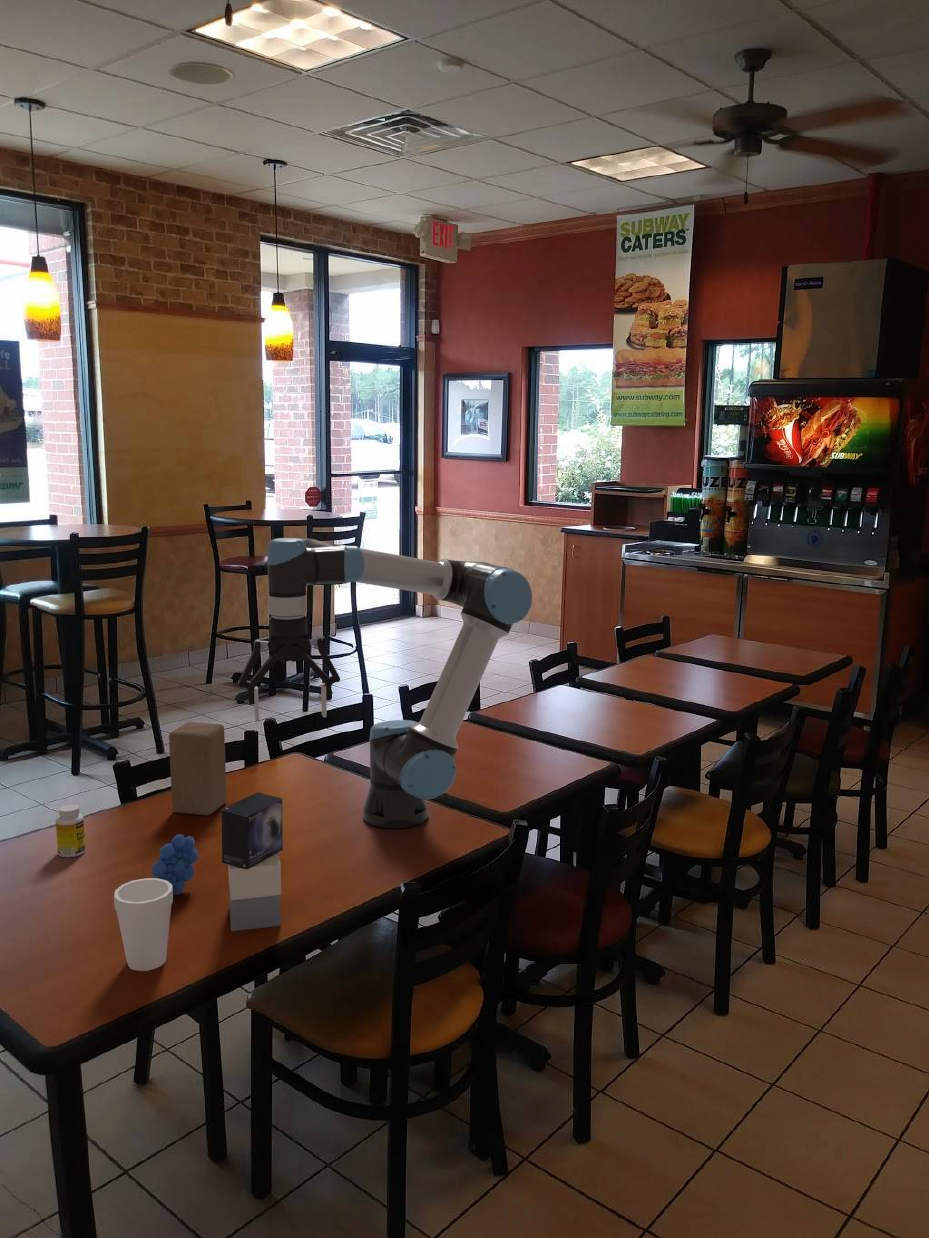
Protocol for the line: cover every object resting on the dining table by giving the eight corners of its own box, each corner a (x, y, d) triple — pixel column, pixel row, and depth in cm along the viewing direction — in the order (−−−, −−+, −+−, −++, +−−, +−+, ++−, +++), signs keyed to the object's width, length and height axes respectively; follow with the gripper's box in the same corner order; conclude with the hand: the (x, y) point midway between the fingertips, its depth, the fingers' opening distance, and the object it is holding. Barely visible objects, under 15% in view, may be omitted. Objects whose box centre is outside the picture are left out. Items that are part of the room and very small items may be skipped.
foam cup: (181, 947, 174) (178, 878, 171) (168, 975, 165) (164, 903, 162) (127, 947, 174) (123, 878, 171) (110, 975, 164) (106, 903, 162)
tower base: (277, 903, 190) (276, 874, 189) (281, 926, 182) (280, 895, 181) (229, 908, 188) (228, 879, 187) (230, 931, 180) (229, 901, 179)
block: (210, 817, 232) (206, 735, 228) (170, 813, 234) (167, 732, 230) (228, 802, 241) (225, 723, 238) (190, 798, 243) (187, 720, 240)
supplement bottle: (80, 858, 209) (77, 812, 207) (53, 858, 209) (50, 812, 207) (89, 847, 214) (86, 802, 213) (63, 847, 214) (60, 802, 212)
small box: (248, 871, 177) (246, 816, 175) (220, 863, 180) (218, 809, 178) (285, 849, 186) (284, 797, 184) (258, 842, 189) (256, 790, 187)
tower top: (276, 873, 190) (276, 844, 189) (281, 894, 181) (280, 864, 180) (228, 878, 187) (227, 849, 186) (230, 900, 179) (229, 869, 178)
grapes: (181, 878, 200) (179, 822, 198) (207, 885, 197) (204, 829, 195) (137, 901, 190) (134, 842, 188) (163, 909, 187) (160, 850, 185)
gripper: (347, 610, 205) (349, 708, 209) (224, 614, 199) (228, 715, 203) (352, 616, 198) (353, 718, 202) (224, 621, 192) (228, 726, 196)
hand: (290, 717), depth 203 cm, fingers open, 13 cm apart
